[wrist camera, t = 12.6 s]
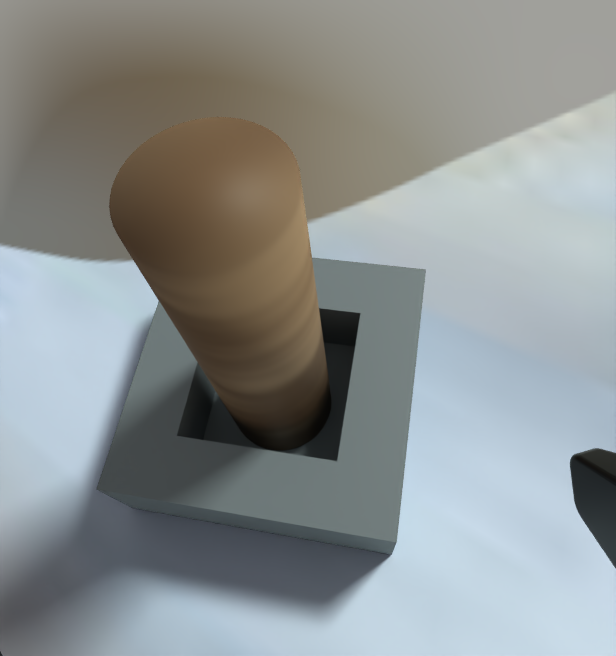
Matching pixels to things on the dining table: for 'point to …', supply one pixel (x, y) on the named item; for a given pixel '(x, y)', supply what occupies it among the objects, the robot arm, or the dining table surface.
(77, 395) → the dining table surface
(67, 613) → the dining table surface
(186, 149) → the walnut dowel
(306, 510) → the socket block
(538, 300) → the dining table surface
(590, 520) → the robot arm
